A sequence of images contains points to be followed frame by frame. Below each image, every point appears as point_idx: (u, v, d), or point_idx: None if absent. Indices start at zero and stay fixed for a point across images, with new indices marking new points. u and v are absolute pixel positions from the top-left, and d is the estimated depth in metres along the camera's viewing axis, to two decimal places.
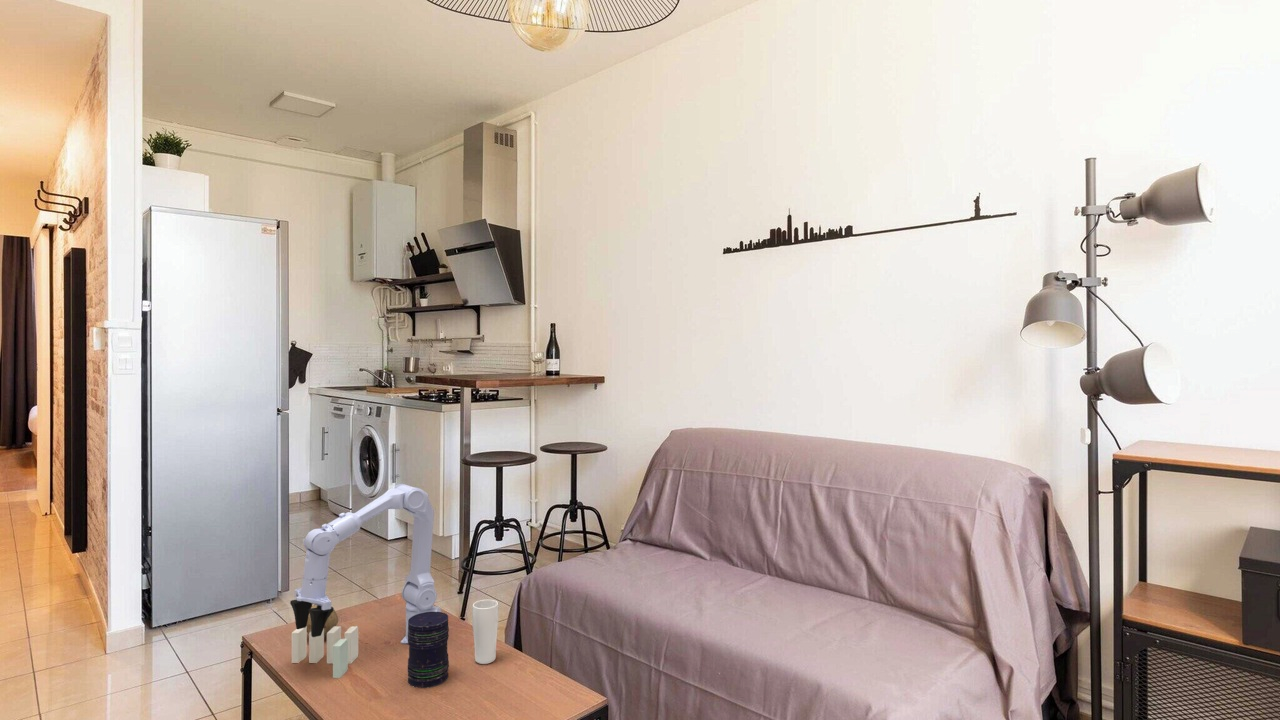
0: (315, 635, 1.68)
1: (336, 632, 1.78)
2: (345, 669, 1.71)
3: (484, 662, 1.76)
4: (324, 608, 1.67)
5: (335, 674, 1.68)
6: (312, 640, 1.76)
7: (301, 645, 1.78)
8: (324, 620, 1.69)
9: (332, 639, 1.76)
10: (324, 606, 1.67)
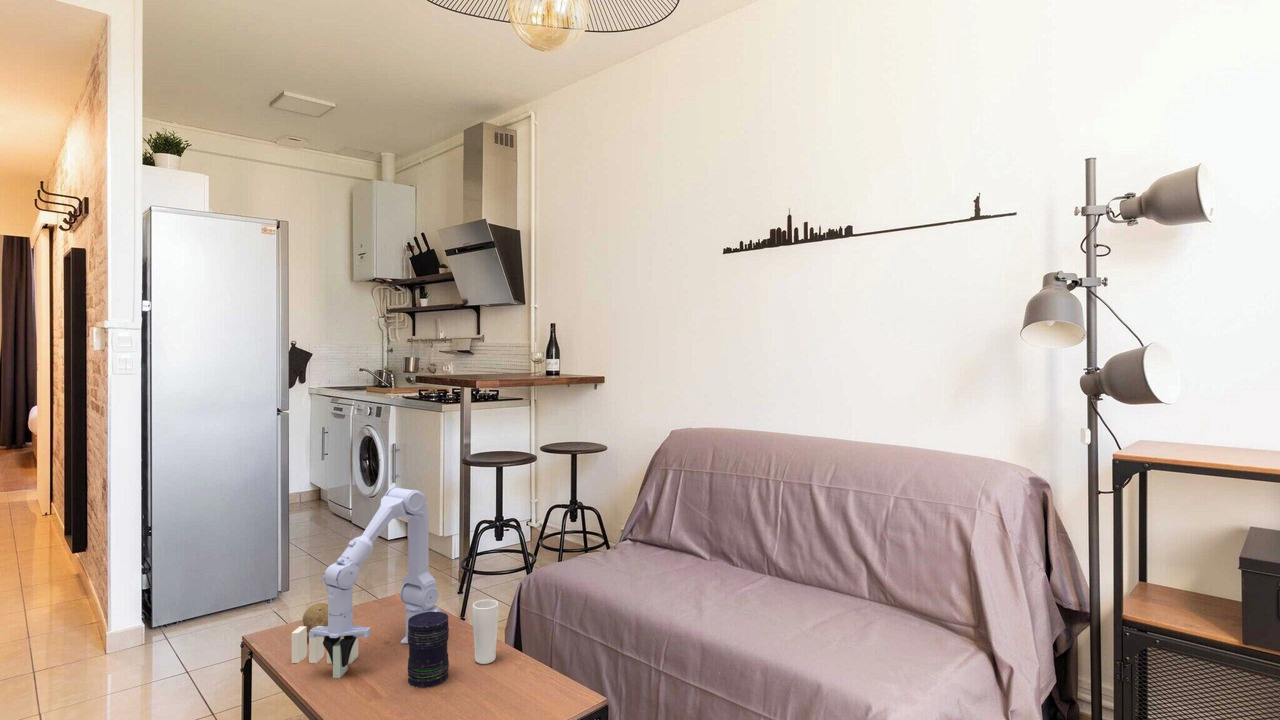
0: (345, 664, 1.70)
1: None
2: (345, 669, 1.71)
3: (484, 662, 1.76)
4: (367, 635, 1.70)
5: (335, 674, 1.68)
6: (312, 640, 1.76)
7: (301, 645, 1.78)
8: (350, 648, 1.72)
9: None
10: (367, 634, 1.70)
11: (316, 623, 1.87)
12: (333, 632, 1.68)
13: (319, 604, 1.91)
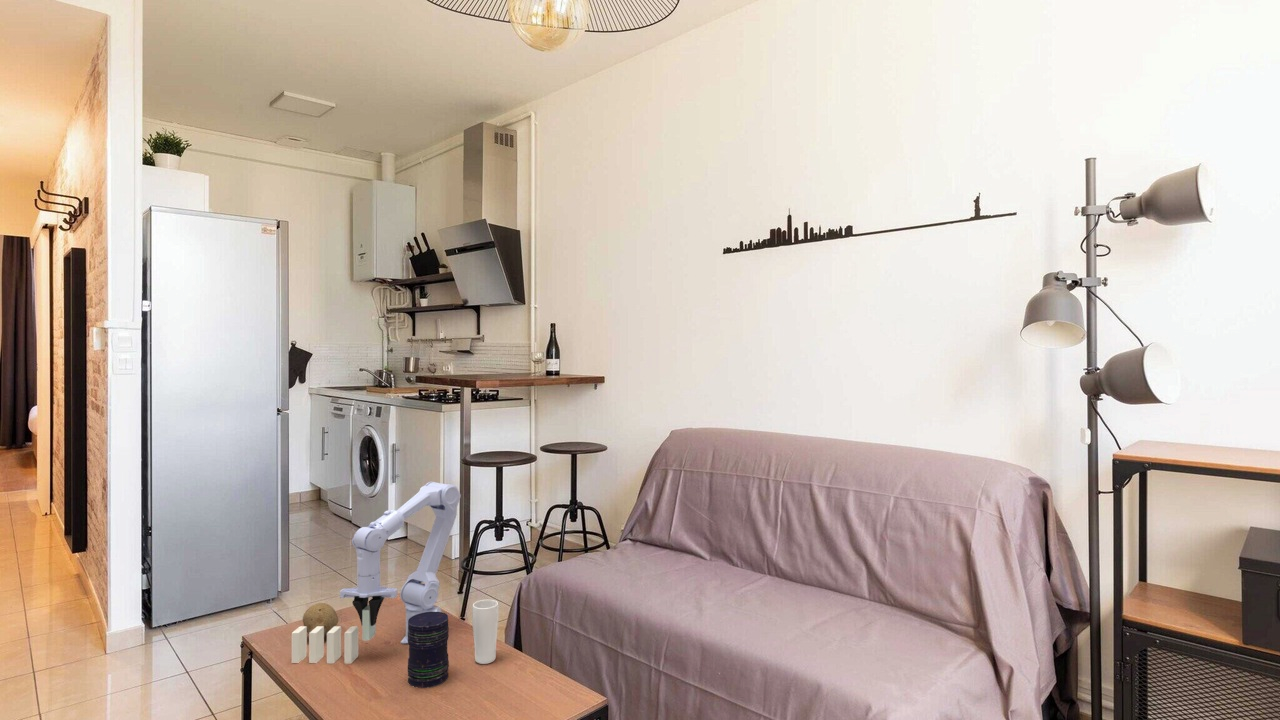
0: (374, 623, 1.78)
1: (336, 632, 1.78)
2: (373, 633, 1.79)
3: (484, 662, 1.76)
4: (395, 596, 1.78)
5: (364, 637, 1.76)
6: (312, 640, 1.76)
7: (301, 645, 1.78)
8: (378, 608, 1.80)
9: (332, 639, 1.76)
10: (395, 594, 1.78)
11: (316, 623, 1.87)
12: (362, 592, 1.75)
13: (319, 604, 1.91)
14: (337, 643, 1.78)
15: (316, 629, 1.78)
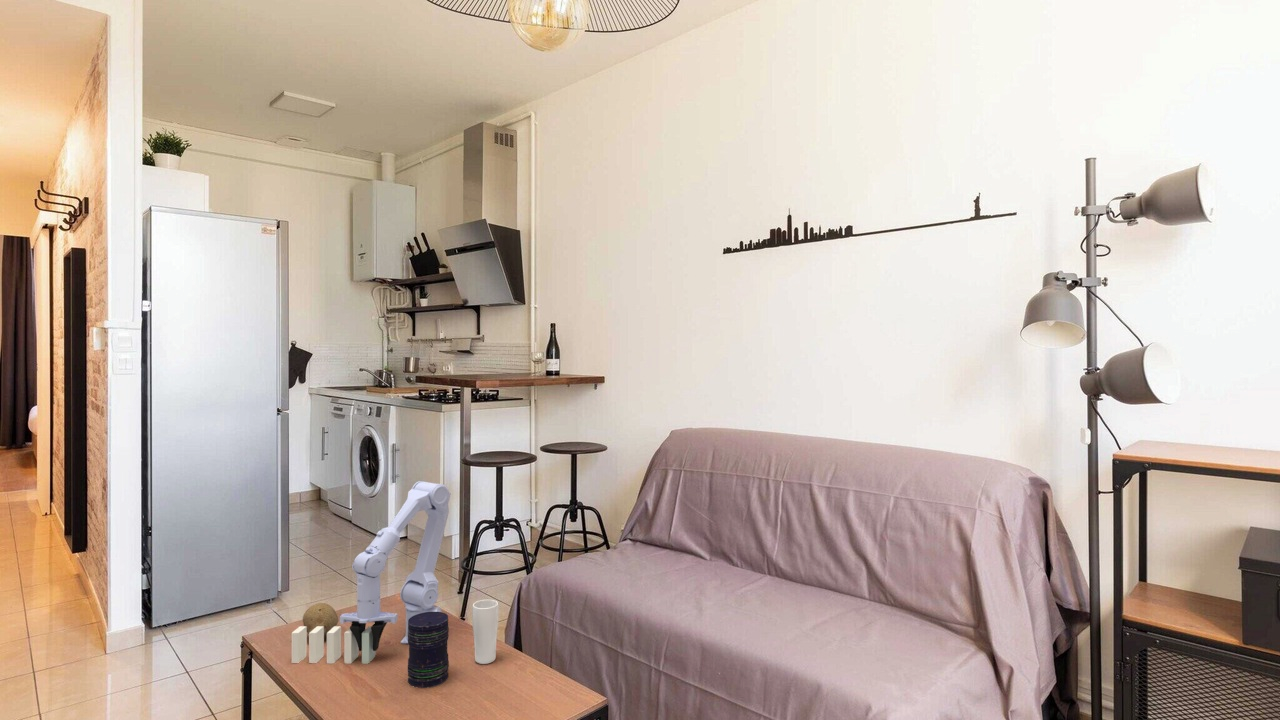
0: (376, 648, 1.78)
1: (336, 632, 1.78)
2: (373, 655, 1.79)
3: (484, 662, 1.76)
4: (395, 621, 1.78)
5: (364, 660, 1.76)
6: (312, 640, 1.76)
7: (301, 645, 1.78)
8: (380, 633, 1.80)
9: (332, 639, 1.76)
10: (394, 619, 1.78)
11: (316, 623, 1.87)
12: (362, 618, 1.76)
13: (319, 604, 1.91)
14: (337, 643, 1.78)
15: (316, 629, 1.78)
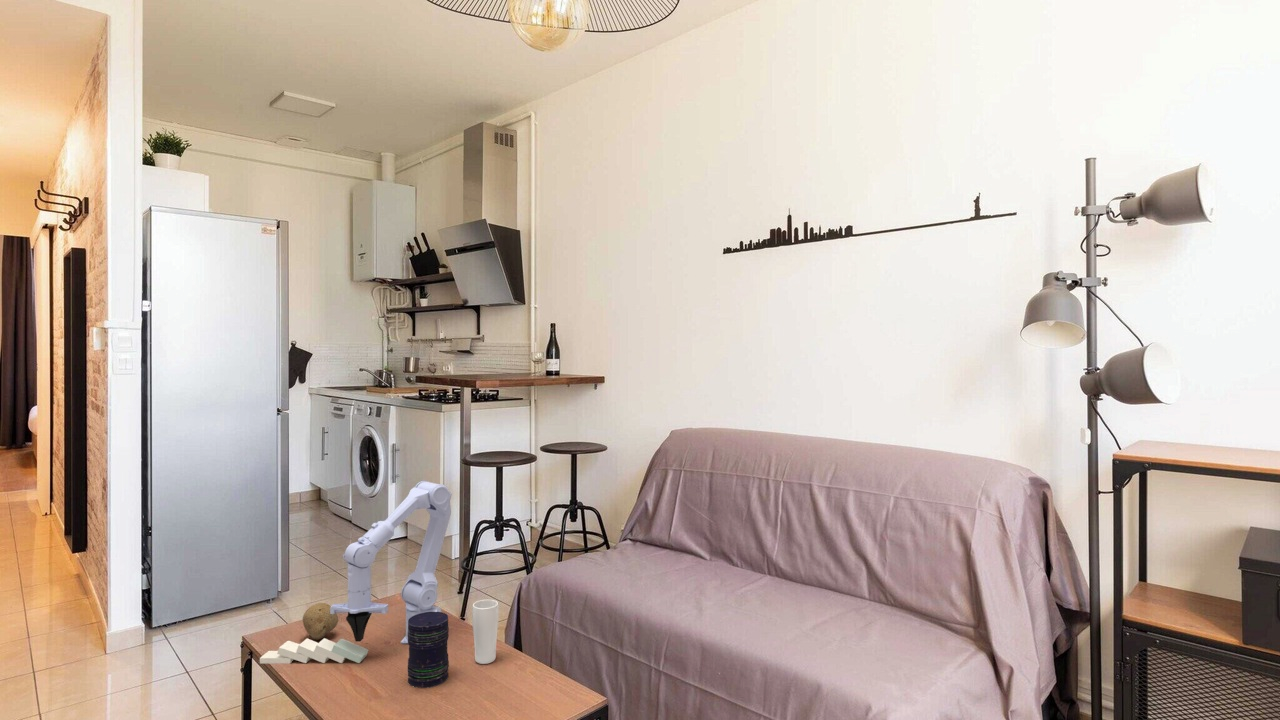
0: (361, 639, 1.78)
1: (303, 643, 1.78)
2: (364, 650, 1.79)
3: (484, 662, 1.76)
4: (385, 612, 1.78)
5: (356, 659, 1.76)
6: (284, 653, 1.76)
7: (278, 655, 1.78)
8: (365, 623, 1.80)
9: (304, 649, 1.76)
10: (385, 610, 1.78)
11: (316, 623, 1.87)
12: (353, 608, 1.76)
13: (319, 604, 1.91)
14: None
15: None
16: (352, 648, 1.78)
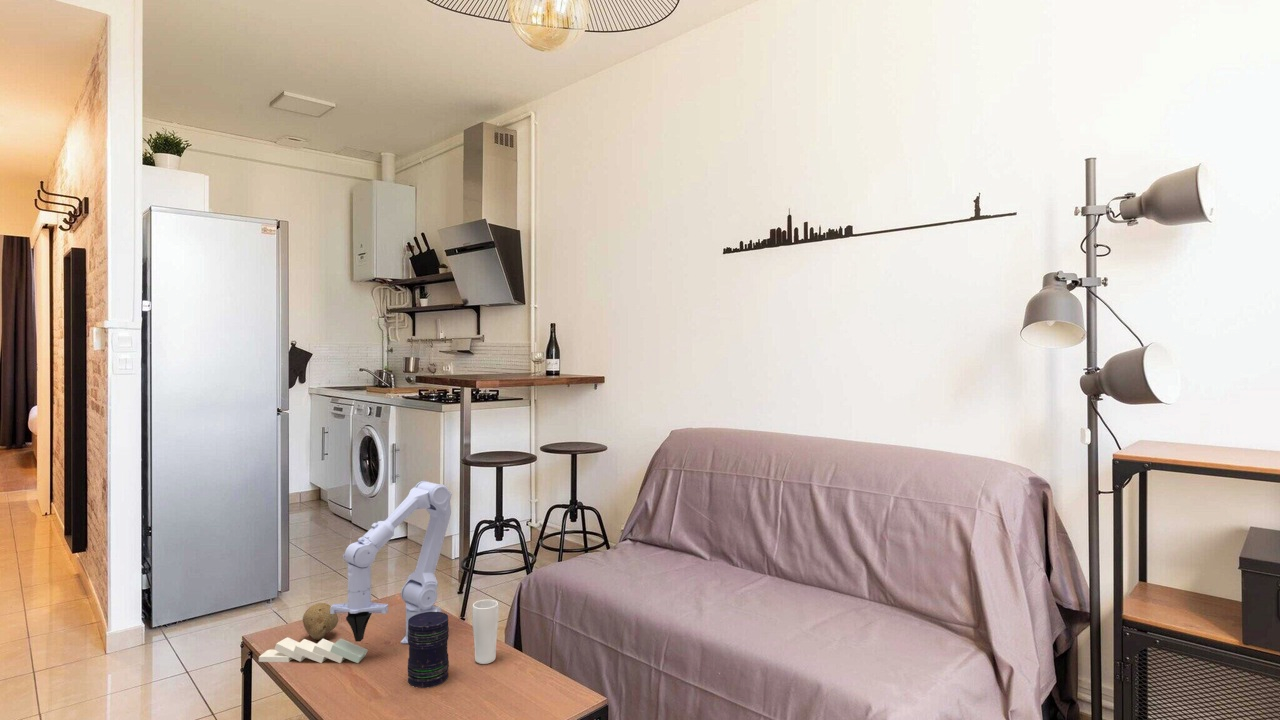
0: (361, 639, 1.78)
1: (300, 643, 1.78)
2: (363, 650, 1.79)
3: (484, 662, 1.76)
4: (385, 612, 1.78)
5: (355, 659, 1.76)
6: (281, 649, 1.78)
7: (276, 654, 1.79)
8: (365, 623, 1.80)
9: (301, 649, 1.76)
10: (385, 610, 1.78)
11: (316, 623, 1.87)
12: (353, 608, 1.76)
13: (319, 604, 1.91)
14: (312, 647, 1.79)
15: None
16: (351, 648, 1.78)
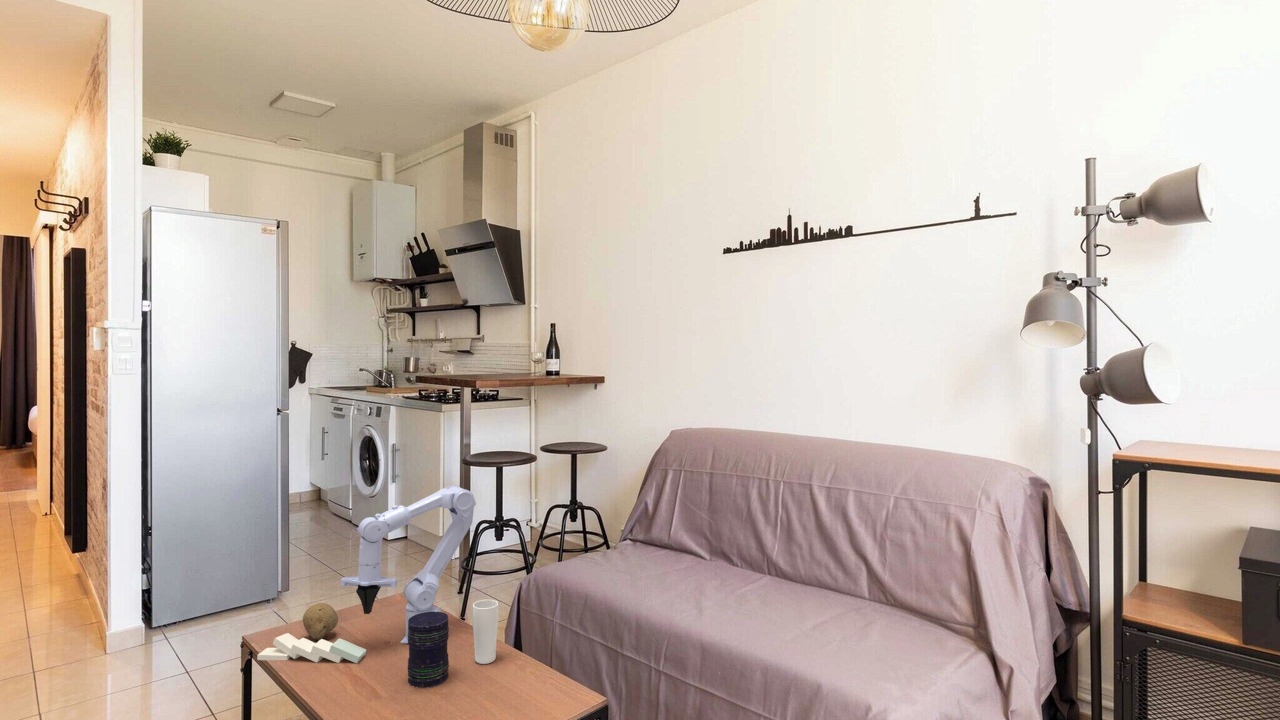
0: (369, 612, 1.83)
1: (298, 642, 1.79)
2: (361, 650, 1.79)
3: (484, 662, 1.76)
4: (395, 585, 1.83)
5: (354, 659, 1.76)
6: (278, 644, 1.79)
7: (275, 652, 1.80)
8: (374, 597, 1.85)
9: (298, 648, 1.77)
10: (394, 584, 1.83)
11: (316, 623, 1.87)
12: (363, 581, 1.81)
13: (319, 604, 1.91)
14: (310, 646, 1.79)
15: None
16: (350, 648, 1.78)
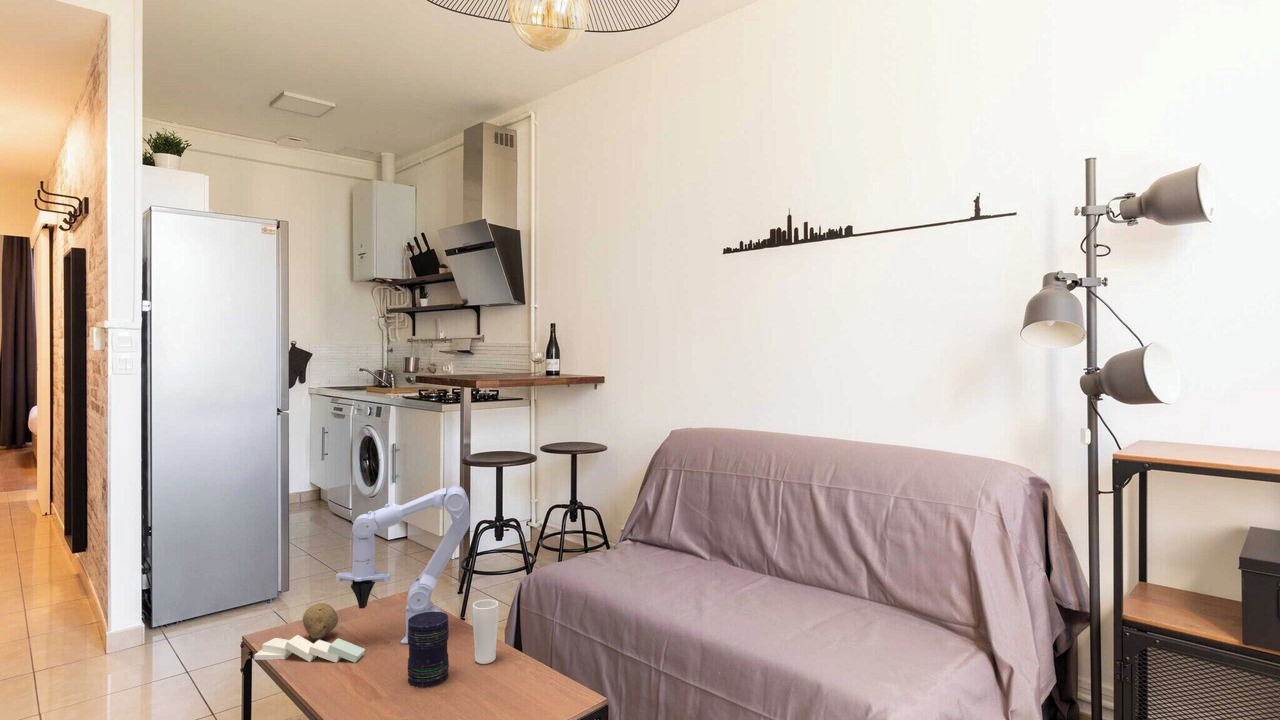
0: (364, 606, 1.87)
1: (292, 639, 1.79)
2: (360, 650, 1.80)
3: (484, 662, 1.76)
4: (388, 580, 1.87)
5: (352, 659, 1.77)
6: (267, 648, 1.80)
7: None
8: (369, 592, 1.89)
9: (292, 646, 1.78)
10: (388, 579, 1.87)
11: (316, 623, 1.87)
12: (357, 576, 1.85)
13: (319, 604, 1.91)
14: (304, 644, 1.80)
15: None
16: (348, 648, 1.79)
